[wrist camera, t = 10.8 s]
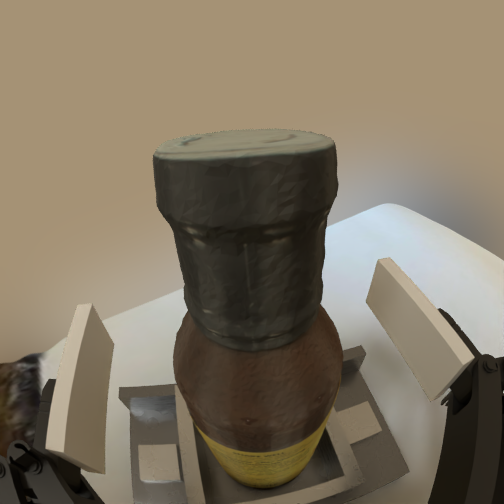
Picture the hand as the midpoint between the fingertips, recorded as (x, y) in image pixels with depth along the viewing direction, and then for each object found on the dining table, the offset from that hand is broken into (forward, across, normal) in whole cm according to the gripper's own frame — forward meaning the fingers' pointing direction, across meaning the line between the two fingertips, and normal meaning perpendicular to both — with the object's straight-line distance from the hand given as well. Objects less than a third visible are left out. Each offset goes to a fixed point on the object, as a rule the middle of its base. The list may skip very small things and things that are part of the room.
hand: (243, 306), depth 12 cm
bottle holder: (-3, 0, -14) cm, 14 cm away
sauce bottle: (-3, 0, -13) cm, 13 cm away
